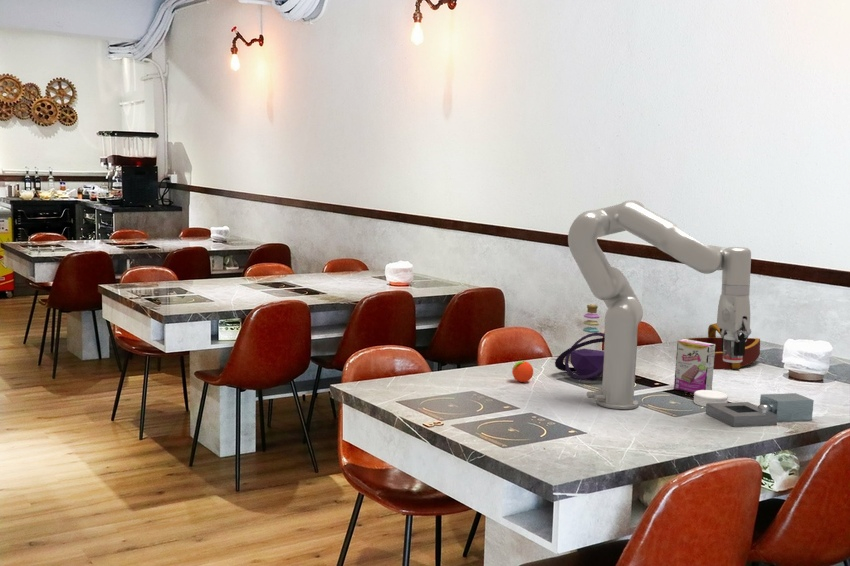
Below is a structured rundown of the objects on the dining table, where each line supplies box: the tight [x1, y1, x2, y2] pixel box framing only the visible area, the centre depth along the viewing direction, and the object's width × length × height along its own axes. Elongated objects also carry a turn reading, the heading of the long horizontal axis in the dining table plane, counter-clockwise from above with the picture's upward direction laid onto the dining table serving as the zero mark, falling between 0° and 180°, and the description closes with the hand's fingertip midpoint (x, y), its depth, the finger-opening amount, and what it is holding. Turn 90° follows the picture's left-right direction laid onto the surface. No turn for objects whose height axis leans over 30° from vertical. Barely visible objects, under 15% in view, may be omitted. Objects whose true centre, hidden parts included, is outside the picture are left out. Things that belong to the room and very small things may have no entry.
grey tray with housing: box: [705, 392, 815, 428], centre depth 258 cm, size 28×14×6 cm, turn 105°
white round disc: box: [693, 389, 729, 408], centre depth 273 cm, size 10×10×4 cm
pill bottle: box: [723, 329, 743, 363], centre depth 254 cm, size 5×5×10 cm
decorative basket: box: [683, 322, 761, 370], centre depth 338 cm, size 34×29×15 cm
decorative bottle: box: [554, 303, 605, 380], centre depth 302 cm, size 22×21×25 cm
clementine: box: [511, 360, 534, 383], centre depth 293 cm, size 8×7×7 cm
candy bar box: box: [673, 338, 715, 394], centre depth 287 cm, size 11×5×16 cm, turn 47°
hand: (732, 352), depth 254 cm, fingers closed on pill bottle, 5 cm apart
